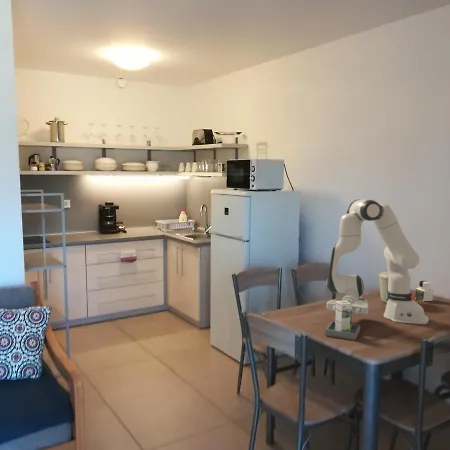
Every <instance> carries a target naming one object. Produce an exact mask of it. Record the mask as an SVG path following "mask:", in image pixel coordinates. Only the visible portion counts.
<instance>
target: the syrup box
mask: <svg viewBox="0 0 450 450" xmlns="http://www.w3.org/2000/svg"><path fill="white" fill-rule="evenodd" d="M352 316H353V313H352V303H351V302H349V301H341V300H338V301H336V312H335V320H334V322H335V330H336V331H343V332H350V333H351V325H352V324H353V323H352V321H353V319H352V318H353V317H352Z"/></svg>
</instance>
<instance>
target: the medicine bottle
mask: <svg viewBox="0 0 450 450" xmlns="http://www.w3.org/2000/svg"><path fill="white" fill-rule="evenodd" d="M430 288H431V282H430V281H428V280H420V281H419V285H418V287H415V294H414V300H416V299H418V300H420V301H419V302H421V301H423V302H422V303H425V302H424V301H432V302H433V299H434V298H433V297H434V295H433V294H434V290H433V289H430ZM418 300H417V301H418Z"/></svg>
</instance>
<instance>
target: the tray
mask: <svg viewBox="0 0 450 450" xmlns="http://www.w3.org/2000/svg"><path fill="white" fill-rule="evenodd" d="M360 332H361V325H360V324H354V323H352V325H351V333H350V332H343V331H336V330H335V320H334V321H330V323H329V324H328V325H327V327H326V329H325V332H324V333H325V334H324V335H325V336H326V337H332V338H339V339H344V338H345V340H352V341H356V340H357V338H358V336H359V334H360Z"/></svg>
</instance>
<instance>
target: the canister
mask: <svg viewBox="0 0 450 450" xmlns="http://www.w3.org/2000/svg"><path fill="white" fill-rule="evenodd" d="M377 277H378V280H379V294H380V300H381V302H383V303H385V304H387V291H388V281H389V276H388V270H387V271H381V272H380V273H378V274H377Z"/></svg>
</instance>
